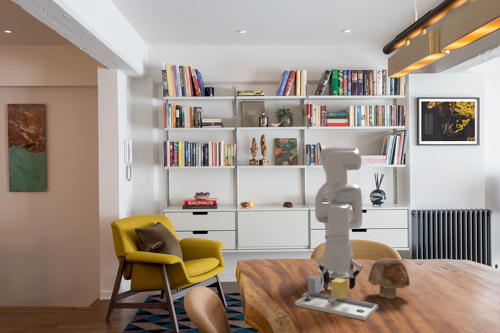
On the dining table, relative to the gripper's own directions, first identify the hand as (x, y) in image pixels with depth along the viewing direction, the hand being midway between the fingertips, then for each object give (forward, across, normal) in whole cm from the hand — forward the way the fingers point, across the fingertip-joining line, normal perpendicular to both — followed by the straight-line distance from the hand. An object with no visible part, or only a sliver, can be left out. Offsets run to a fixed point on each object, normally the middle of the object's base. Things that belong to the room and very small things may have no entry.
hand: (339, 286), depth 142 cm
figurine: (+7, -11, +14) cm, 19 cm away
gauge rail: (+6, 0, -3) cm, 6 cm away
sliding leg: (+5, 0, -3) cm, 6 cm away
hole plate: (+7, 0, -2) cm, 7 cm away
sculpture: (+7, +13, +19) cm, 23 cm away
